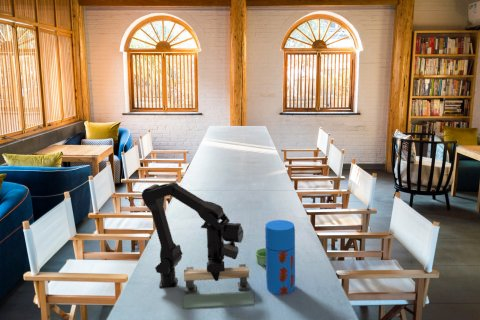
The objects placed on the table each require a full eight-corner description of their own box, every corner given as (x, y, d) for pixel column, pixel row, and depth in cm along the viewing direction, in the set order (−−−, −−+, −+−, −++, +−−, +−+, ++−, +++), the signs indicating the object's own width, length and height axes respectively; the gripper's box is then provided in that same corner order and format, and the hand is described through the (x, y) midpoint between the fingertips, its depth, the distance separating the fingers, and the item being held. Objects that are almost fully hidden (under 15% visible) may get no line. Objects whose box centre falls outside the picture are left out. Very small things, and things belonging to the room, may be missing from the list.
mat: (184, 296, 166) (184, 294, 166) (252, 292, 167) (252, 291, 167) (182, 308, 158) (182, 307, 158) (254, 304, 159) (254, 303, 159)
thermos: (266, 280, 176) (264, 220, 171) (293, 280, 176) (293, 219, 170) (266, 295, 165) (265, 230, 160) (296, 294, 165) (295, 230, 160)
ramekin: (272, 255, 198) (271, 246, 198) (280, 264, 190) (280, 254, 189) (252, 259, 196) (252, 249, 195) (260, 267, 187) (260, 258, 186)
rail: (184, 277, 170) (184, 269, 169) (248, 273, 171) (248, 266, 170) (184, 281, 167) (183, 273, 166) (248, 277, 168) (248, 270, 167)
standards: (185, 286, 174) (184, 267, 172) (248, 283, 175) (247, 263, 173) (184, 295, 167) (183, 275, 165) (249, 292, 168) (248, 272, 166)
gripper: (238, 248, 157) (239, 289, 160) (235, 229, 175) (237, 266, 178) (205, 250, 156) (207, 291, 160) (207, 230, 175) (208, 267, 178)
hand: (216, 278), depth 169 cm, fingers closed on rail, 3 cm apart
